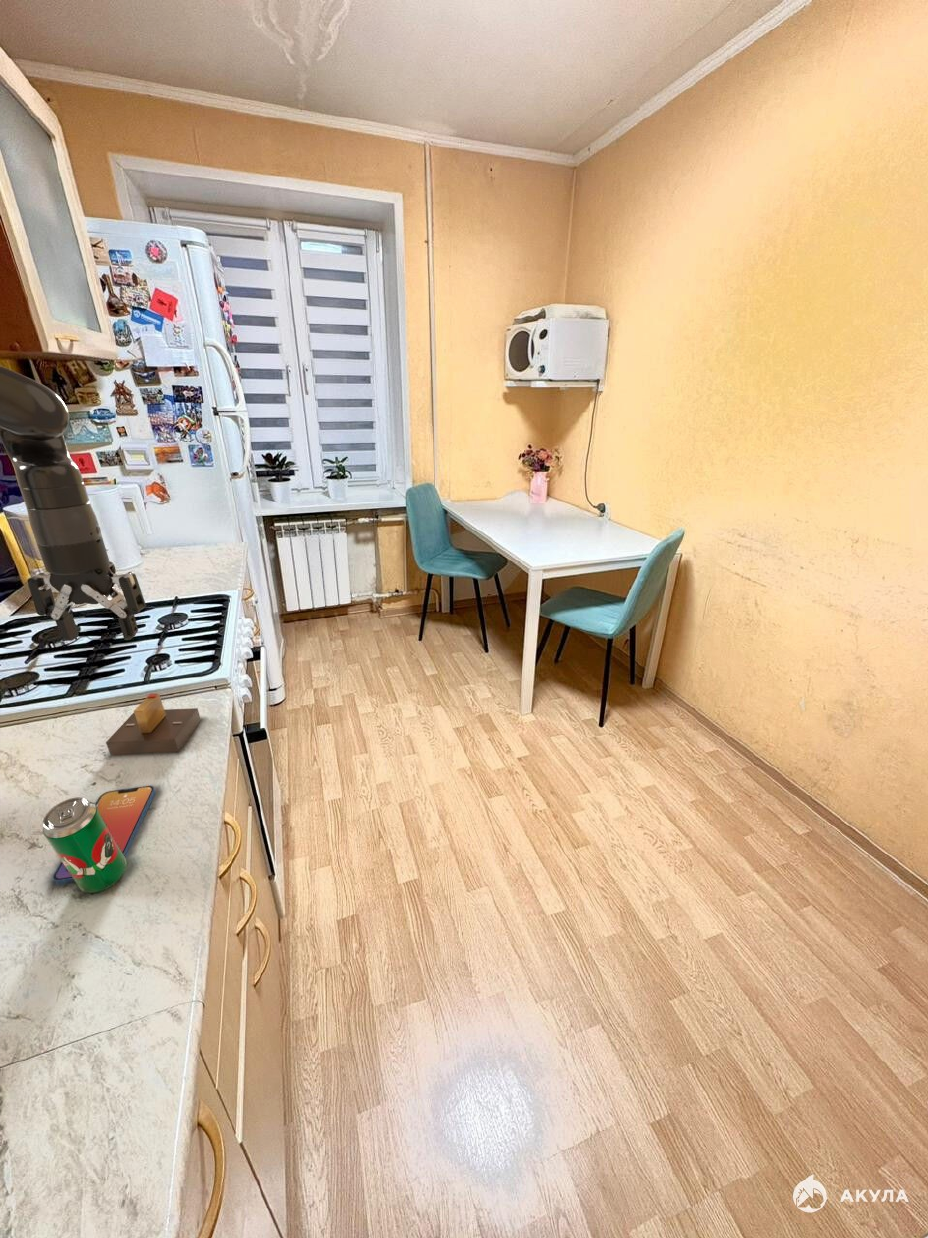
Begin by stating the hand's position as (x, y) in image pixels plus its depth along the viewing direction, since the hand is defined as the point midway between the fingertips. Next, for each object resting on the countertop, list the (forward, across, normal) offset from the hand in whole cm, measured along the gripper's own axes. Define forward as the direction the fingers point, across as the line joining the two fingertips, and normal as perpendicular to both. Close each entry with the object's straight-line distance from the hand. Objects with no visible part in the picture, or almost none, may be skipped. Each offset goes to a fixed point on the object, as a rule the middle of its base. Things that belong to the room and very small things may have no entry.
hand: (101, 638), depth 77 cm
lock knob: (+17, +3, +1) cm, 18 cm away
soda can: (+20, +10, -27) cm, 35 cm away
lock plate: (+20, +3, +1) cm, 21 cm away
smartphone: (+20, +6, -20) cm, 29 cm away
